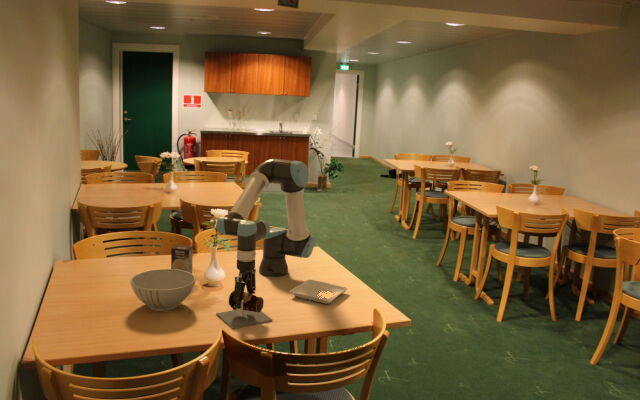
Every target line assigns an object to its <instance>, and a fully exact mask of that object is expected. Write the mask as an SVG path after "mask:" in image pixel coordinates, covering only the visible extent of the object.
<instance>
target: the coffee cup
mask: <svg viewBox="0 0 640 400" xmlns="http://www.w3.org/2000/svg"><path fill="white" fill-rule="evenodd" d="M233 299H234V290H233V291H232V292H231V293H230V294H229V297H228V305H229V306H230V308H231V309H232V310H236V304H237V301H235V300H233ZM242 300H243V310H247V311H254V312H257V313H259V312H261V311H262V310H263V308H264V299H263V297H261V296H258V295H255V294H249V293H247V292H246V291H244V294H243V299H242Z"/></svg>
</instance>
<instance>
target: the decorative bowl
mask: <svg viewBox="0 0 640 400" xmlns="http://www.w3.org/2000/svg"><path fill="white" fill-rule="evenodd" d="M196 281H197V278H196V276H195V275H194V274H193V273H192V274H191V273H189V272H186V271H183V270H177V269H171V268H157V269H149V270H145V271H142V272H139V273H136V274H135V275H133V276H132V277H130V280H129V282H130V286H131V289H132V291H133V293H134V295H135V296H136V297H137V299H138V300H139V301H140V302H142V304H145V305H146V306H148V308H149V309H150V310H152V311H156V312H168V311H171V310H174V309H176V308H178V306H179V304H182V302H184V301H185V300H186V299H188V297H189V296H190V295H191V292H192V291H193V289H194V287H195V284H196Z"/></svg>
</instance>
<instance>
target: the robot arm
mask: <svg viewBox="0 0 640 400" xmlns="http://www.w3.org/2000/svg"><path fill="white" fill-rule="evenodd" d="M309 176H310V175H309V169H308V166H307V165H306V163H305V162H303V161H300V160H288V159H281V158H279V159H278V158H270V159H267V160H266V161H263V162H261V163H260V164H258V165H257V167H255V168H254V170H253V171H252V172H251V174H250V176H249V181H248V182H247V184H246V186H245V187H244V189H243V190H242V192H241V193H240V195H239V196H238V198H237V200H236V202H235V203H234V204H233V207H231V210H229V213H228V214H227V215H226V216H220V217H219V218H217V221H216V225H215V228H216V230H217V232H218V234H220V235H224V236H231V237H237V238H236V240H237V246H236V269H237V270H238V271H239V272H238V276H235V277H234V289H233V291H234V299H233V300H235V301H237V304H236V315H238V316H243V300H242V299H243V294H244V292H245V289H246V291H247V293H249V294H253V295H255V294H256V290H257V287H256V283H257V282H256V271H257V269H256V255H257V253H256V250H257V248H256V246H257V242H258V241H260V240H262V239H263V242H262V243H263V246H262V258H261V261H260V265H259V267H258V272H259V274H261V275H263V276H265V277H283V276H286V275H288V274H289V267H288V263H287V260H286V256H291V257H295V258H296V257H297V258H300V259H301V258H302V259H303V258H304V259H308V258H310V257H311V256H312V253H313V251H314V248H315V243H316V242H315V241H316V238H315V236H314V235H311V232H310V231H311V230H309V229H308V228H307V222H306V214H305V203H304V195H303V191H304V189H305V187H306V186H307V185H308V183H309ZM270 184H276V185H280V190H281V191H282V192H283V193H284V200H285V207H286V214H287V223H288V230H287V228H286V227H272V228H270V225H269V222H267V221H266V220H263V219H260V220H256V221H255V220H247V217H248V216H249V214H250V213H251V211H252V210H253V207H254V206H255V204H256V203H257V201H258V200H259V198H260V196H261V194H262V192H263V191H264V189H266V188H268V187H269V186H270Z"/></svg>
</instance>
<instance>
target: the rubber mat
mask: <svg viewBox="0 0 640 400" xmlns="http://www.w3.org/2000/svg"><path fill="white" fill-rule="evenodd" d="M215 316H217V317H218V318H219V319H220V320H221V321H223V322H224V323H225V324H226V325H227V326H228V327H229V328H231V330H236V329H241V328H244V327H250V326H256V325H259V324H260V325H261V324H265V323H269V321H270V322H273V319H272V318H271V317H270V316H268V315H267V314H265V312H264V311H262V310H261V312H259V313H257V312H254V311H247V310H243V316H238V315H236V310H233V309H232V310H227V311H222V312H216V313H215ZM264 322H265V323H264Z"/></svg>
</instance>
